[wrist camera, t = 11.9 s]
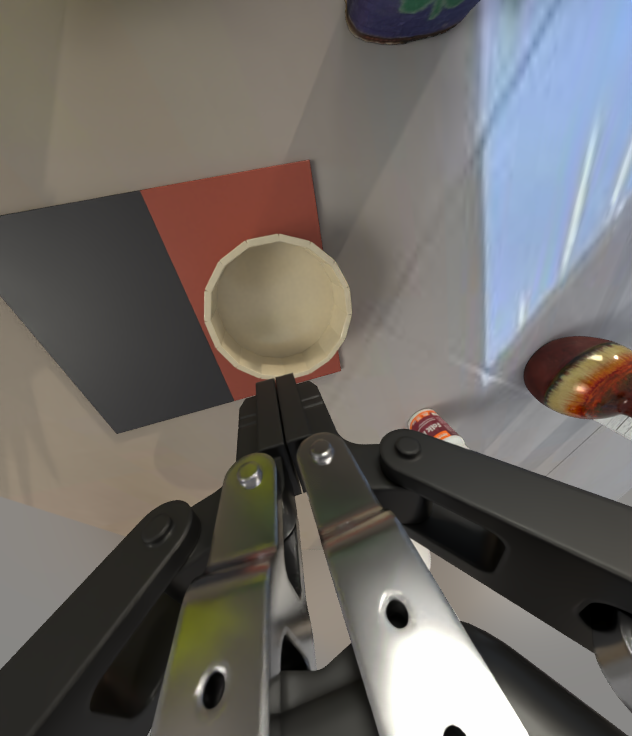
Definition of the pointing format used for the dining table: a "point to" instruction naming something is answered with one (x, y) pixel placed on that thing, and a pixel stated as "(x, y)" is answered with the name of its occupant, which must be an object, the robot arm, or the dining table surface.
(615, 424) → the syrup box
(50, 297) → the placemat
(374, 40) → the flask
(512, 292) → the dining table surface
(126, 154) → the dining table surface
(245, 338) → the bowl
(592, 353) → the vase
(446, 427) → the pill bottle
